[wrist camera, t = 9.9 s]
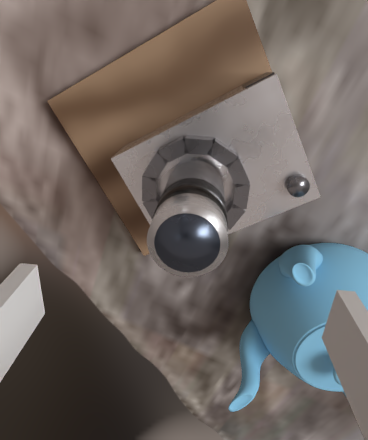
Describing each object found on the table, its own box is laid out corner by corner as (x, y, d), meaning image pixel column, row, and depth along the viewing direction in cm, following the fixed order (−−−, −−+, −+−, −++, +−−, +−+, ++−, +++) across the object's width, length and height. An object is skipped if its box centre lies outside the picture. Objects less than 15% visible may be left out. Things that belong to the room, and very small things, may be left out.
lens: (167, 157, 28) (145, 202, 19) (227, 162, 28) (234, 209, 19) (165, 211, 30) (145, 275, 21) (221, 216, 30) (224, 283, 21)
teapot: (220, 329, 44) (225, 418, 33) (270, 205, 36) (298, 267, 25) (342, 359, 45) (387, 455, 34) (416, 243, 37) (507, 320, 26)
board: (52, 100, 33) (47, 101, 32) (239, -11, 28) (240, -15, 27) (145, 250, 39) (144, 255, 38) (309, 181, 35) (313, 185, 34)
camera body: (123, 145, 33) (105, 162, 27) (265, 71, 29) (280, 72, 24) (174, 235, 37) (168, 267, 31) (305, 180, 33) (326, 204, 27)
